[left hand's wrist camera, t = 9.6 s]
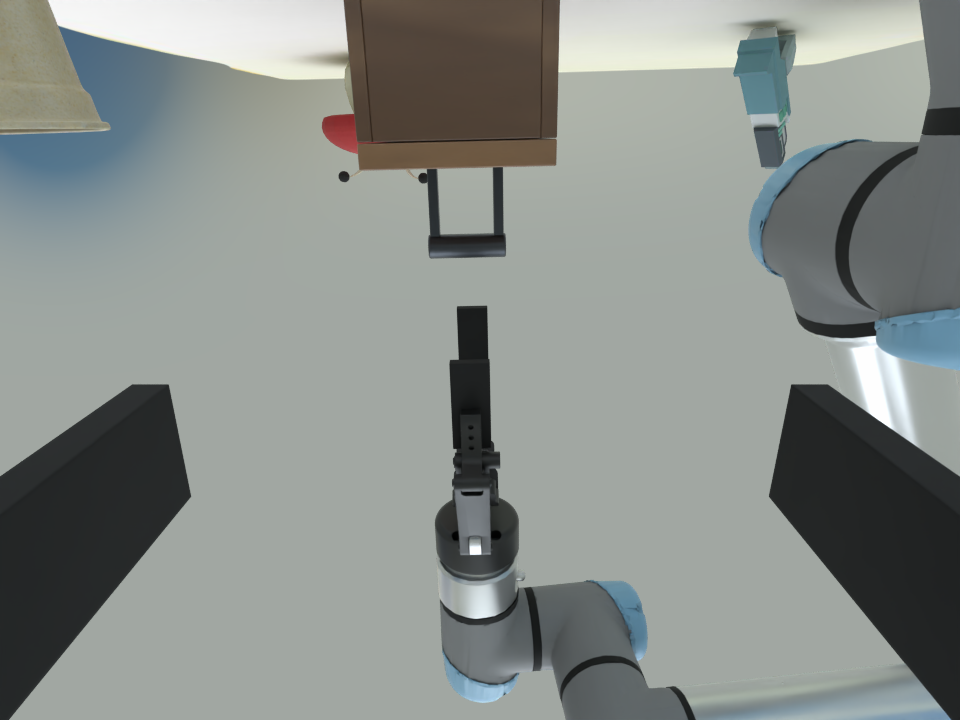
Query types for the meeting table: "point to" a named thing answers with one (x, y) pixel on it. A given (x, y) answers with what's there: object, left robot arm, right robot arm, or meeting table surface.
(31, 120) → the flower pot
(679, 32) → the meeting table surface
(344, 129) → the mushroom
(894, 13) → the meeting table surface
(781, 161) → the toy gun
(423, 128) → the chest
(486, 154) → the lid
